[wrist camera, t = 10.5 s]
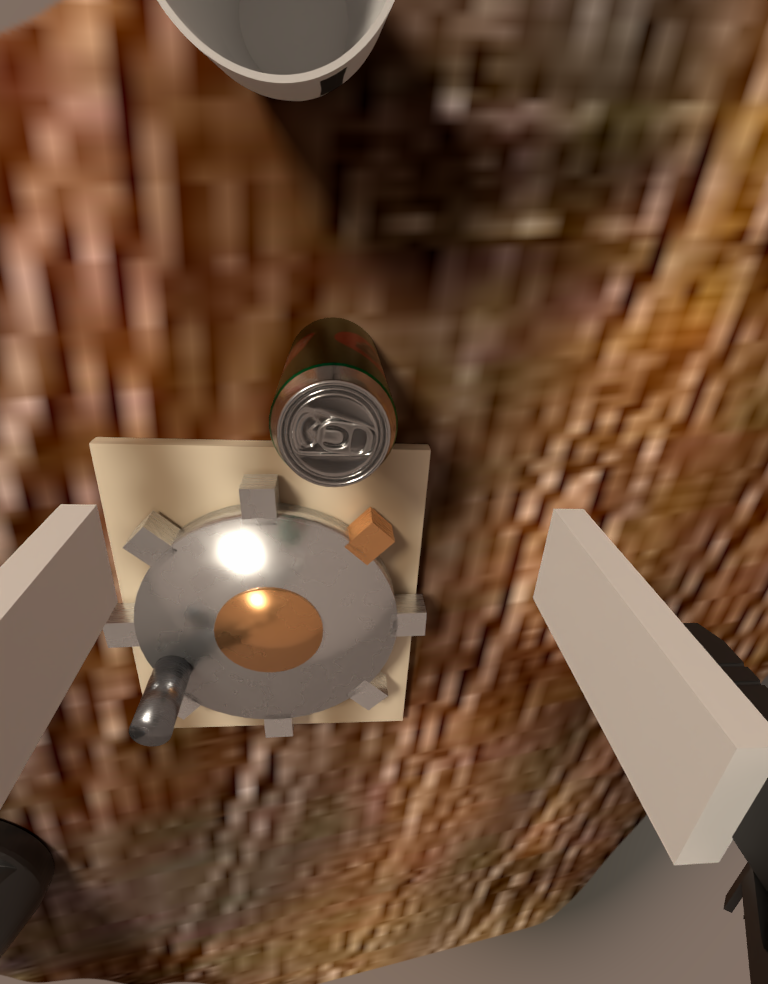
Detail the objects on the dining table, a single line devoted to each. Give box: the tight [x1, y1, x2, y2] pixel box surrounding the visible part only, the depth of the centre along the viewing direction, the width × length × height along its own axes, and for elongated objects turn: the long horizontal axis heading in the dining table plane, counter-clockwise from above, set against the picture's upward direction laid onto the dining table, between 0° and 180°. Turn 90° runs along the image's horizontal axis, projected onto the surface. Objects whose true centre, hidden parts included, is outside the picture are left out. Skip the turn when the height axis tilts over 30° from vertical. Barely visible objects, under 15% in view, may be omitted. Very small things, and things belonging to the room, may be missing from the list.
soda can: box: [269, 318, 398, 487], centre depth 25 cm, size 5×5×12 cm
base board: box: [89, 437, 431, 728], centre depth 37 cm, size 20×24×1 cm
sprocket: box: [103, 474, 427, 746], centre depth 33 cm, size 21×21×7 cm
